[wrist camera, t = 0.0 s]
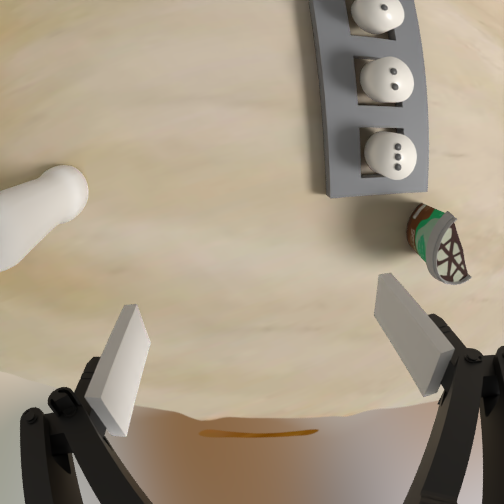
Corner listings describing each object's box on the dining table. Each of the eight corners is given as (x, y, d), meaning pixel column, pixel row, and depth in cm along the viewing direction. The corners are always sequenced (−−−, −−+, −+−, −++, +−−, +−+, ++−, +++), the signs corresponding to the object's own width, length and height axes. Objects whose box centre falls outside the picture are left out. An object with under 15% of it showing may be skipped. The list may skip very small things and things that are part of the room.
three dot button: (363, 131, 37) (377, 133, 33) (401, 131, 37) (417, 134, 33) (364, 174, 40) (377, 181, 36) (401, 173, 40) (417, 179, 36)
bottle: (67, 151, 37) (-101, 222, 10) (101, 190, 40) (-44, 306, 13) (38, 190, 39) (-106, 284, 12) (71, 226, 42) (-56, 353, 15)
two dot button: (357, 59, 33) (370, 53, 29) (396, 62, 33) (412, 59, 29) (361, 101, 35) (375, 100, 32) (400, 103, 36) (416, 103, 32)
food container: (389, 215, 45) (422, 240, 36) (418, 195, 44) (456, 215, 34) (413, 272, 49) (443, 302, 40) (439, 253, 48) (472, 279, 39)
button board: (305, -20, 29) (308, -26, 28) (405, -6, 30) (411, -10, 28) (326, 194, 43) (330, 198, 41) (420, 188, 43) (427, 191, 41)
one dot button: (347, -6, 29) (359, -16, 25) (386, 0, 29) (400, -8, 25) (354, 31, 31) (366, 24, 27) (393, 36, 31) (408, 31, 28)
